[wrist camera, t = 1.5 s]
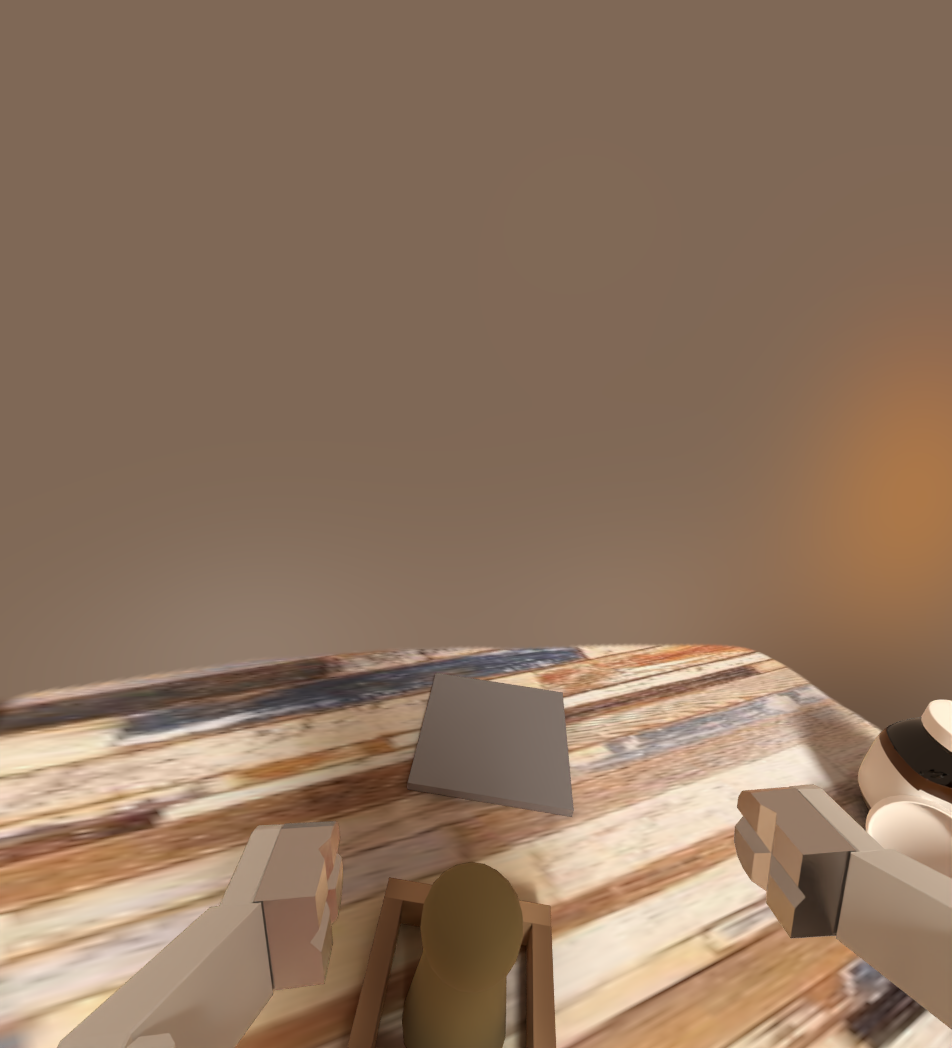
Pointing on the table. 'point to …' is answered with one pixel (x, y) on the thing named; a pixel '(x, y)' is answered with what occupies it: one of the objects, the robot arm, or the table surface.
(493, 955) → the cork
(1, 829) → the table surface
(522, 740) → the coaster
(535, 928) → the square wooden frame
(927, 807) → the spread jar
